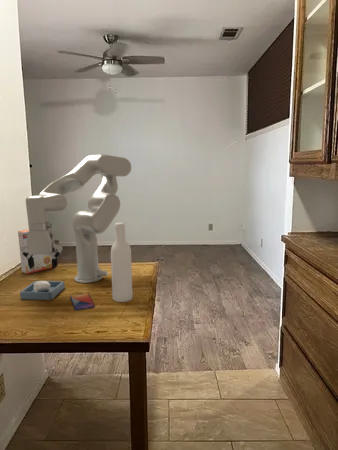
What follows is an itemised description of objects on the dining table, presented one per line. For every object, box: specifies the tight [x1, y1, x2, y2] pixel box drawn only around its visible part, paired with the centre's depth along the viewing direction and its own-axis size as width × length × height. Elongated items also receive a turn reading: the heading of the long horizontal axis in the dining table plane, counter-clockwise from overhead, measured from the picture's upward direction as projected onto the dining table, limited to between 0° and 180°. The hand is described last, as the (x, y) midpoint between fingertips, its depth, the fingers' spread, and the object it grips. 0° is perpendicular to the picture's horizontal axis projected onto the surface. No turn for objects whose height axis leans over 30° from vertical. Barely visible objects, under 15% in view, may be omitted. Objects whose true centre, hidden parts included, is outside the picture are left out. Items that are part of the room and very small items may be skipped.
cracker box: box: [17, 227, 53, 275], centre depth 176 cm, size 14×6×21 cm, turn 136°
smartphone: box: [69, 292, 95, 311], centre depth 136 cm, size 7×15×1 cm, turn 22°
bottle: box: [110, 221, 134, 303], centre depth 137 cm, size 8×8×30 cm
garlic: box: [34, 280, 51, 292], centre depth 144 cm, size 8×7×4 cm
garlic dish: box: [19, 280, 66, 301], centre depth 146 cm, size 13×14×3 cm
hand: (43, 267), depth 145 cm, fingers open, 9 cm apart
